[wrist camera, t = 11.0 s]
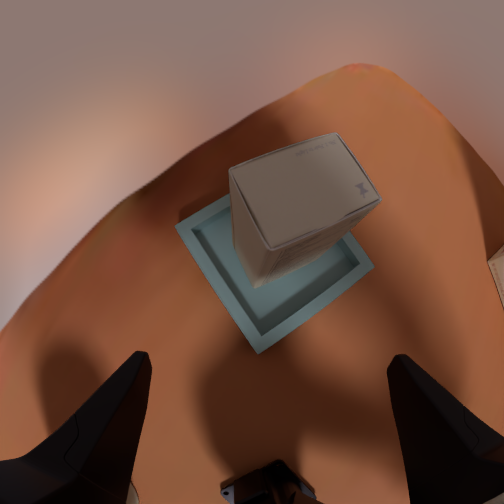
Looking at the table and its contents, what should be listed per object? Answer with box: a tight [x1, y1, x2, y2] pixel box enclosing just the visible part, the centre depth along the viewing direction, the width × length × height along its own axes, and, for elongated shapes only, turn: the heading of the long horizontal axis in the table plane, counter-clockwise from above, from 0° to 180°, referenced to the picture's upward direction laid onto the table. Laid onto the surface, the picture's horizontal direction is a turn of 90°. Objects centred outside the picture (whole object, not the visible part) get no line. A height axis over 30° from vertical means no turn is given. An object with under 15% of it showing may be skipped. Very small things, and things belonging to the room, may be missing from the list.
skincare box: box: [228, 133, 382, 288], centre depth 18 cm, size 6×4×12 cm
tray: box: [175, 193, 375, 354], centre depth 23 cm, size 12×12×2 cm
